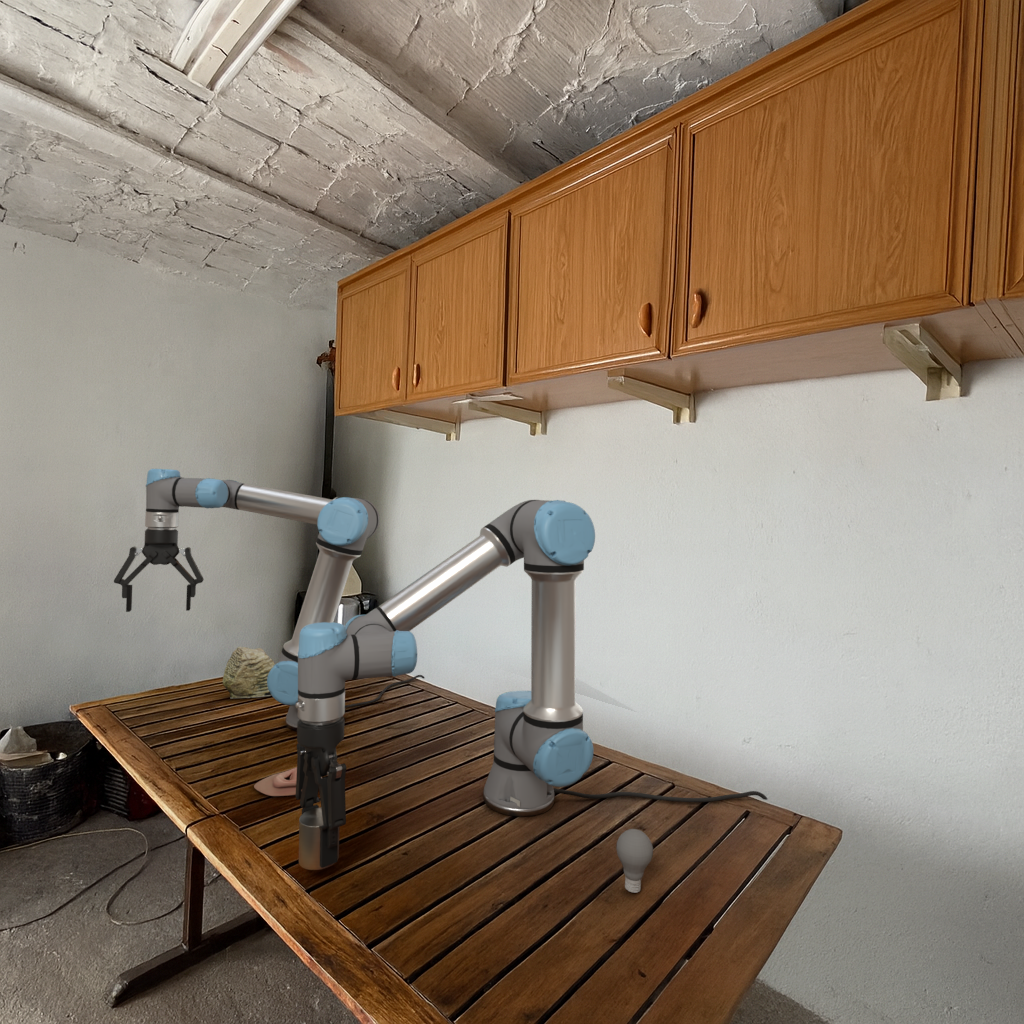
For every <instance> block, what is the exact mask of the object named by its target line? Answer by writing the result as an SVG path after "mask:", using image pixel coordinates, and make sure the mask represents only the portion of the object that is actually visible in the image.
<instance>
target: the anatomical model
mask: <svg viewBox="0 0 1024 1024" xmlns="http://www.w3.org/2000/svg"><path fill="white" fill-rule="evenodd" d="M296 777H297V766H296V767H294V768H291V769H288V770H286V771H283V772H278V773H275V774H272V775H269V776H267V777H265V778H263V779H260V780H259V781H257V782H256V783H255V784H254V785H253V788H254V789H255V790H256V791H257V792H259V793H261V794H264V795H266V796H268V797H269V796H270V797H284V796H296ZM321 778H323V777H321ZM301 791H302V790H301Z"/></svg>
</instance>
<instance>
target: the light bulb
mask: <svg viewBox="0 0 1024 1024" xmlns="http://www.w3.org/2000/svg"><path fill="white" fill-rule="evenodd" d="M615 849H616V854H617V857H618V859H619V861H620V863H621V865H622V867H623V873H624V874H623V875H624V876H625V878H624V888H625V890H627V891H628V892H630V893H634V894H635V893H639V892H640V891H641V889H642V887H641V886H642V879H643V877H644V875H645V871H646V868H647V867H648V866H649V864H650V863H651V861H652V859H653V855H654V847H653V843H652V841H651V838H649V836H648V835H647V834H646V833H645V832H643V831H642V830H641V829H636V828H629V829H627V830H625V831H623V832H622V833H621V834H620V835H619V837H618V839H617V841H616V847H615Z"/></svg>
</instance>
